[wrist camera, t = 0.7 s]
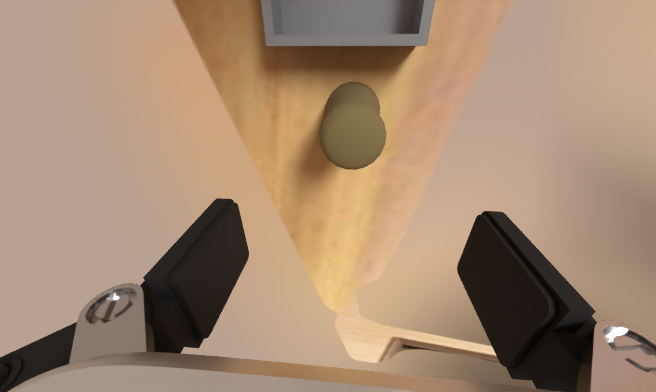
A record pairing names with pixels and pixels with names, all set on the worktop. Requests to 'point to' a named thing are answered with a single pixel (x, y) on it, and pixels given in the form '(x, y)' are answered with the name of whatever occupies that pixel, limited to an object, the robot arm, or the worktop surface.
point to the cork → (352, 127)
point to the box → (346, 22)
